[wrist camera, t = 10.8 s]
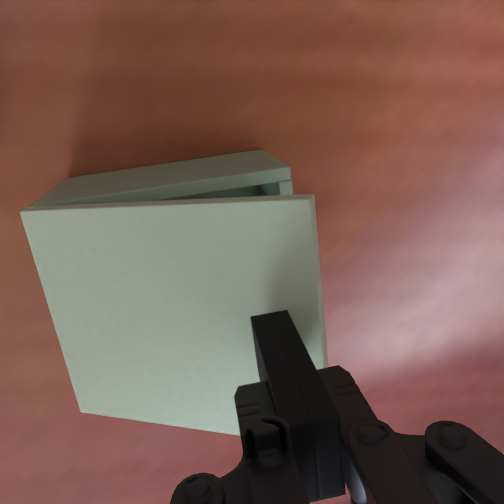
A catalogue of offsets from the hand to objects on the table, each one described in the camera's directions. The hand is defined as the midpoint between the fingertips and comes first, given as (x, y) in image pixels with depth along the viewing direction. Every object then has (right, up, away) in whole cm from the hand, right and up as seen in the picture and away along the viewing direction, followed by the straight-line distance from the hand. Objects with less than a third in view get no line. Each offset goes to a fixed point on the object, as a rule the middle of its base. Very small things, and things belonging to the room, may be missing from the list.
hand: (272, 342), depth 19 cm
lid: (-4, +1, +3) cm, 5 cm away
